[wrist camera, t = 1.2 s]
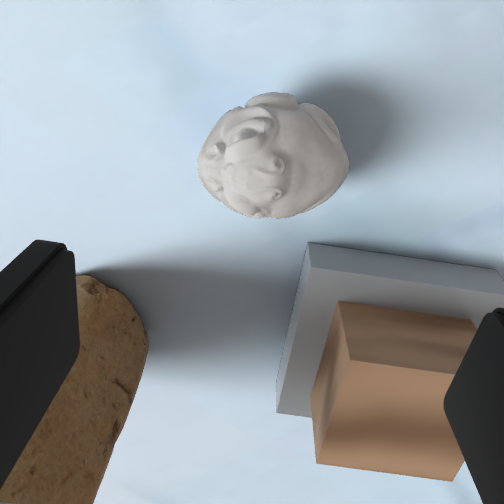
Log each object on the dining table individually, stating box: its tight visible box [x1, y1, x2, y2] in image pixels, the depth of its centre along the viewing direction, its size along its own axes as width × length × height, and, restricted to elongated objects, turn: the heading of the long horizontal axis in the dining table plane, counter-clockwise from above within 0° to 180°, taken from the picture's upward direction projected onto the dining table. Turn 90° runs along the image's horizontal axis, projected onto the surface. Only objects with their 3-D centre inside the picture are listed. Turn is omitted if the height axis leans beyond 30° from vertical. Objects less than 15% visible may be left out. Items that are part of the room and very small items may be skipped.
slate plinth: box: [276, 243, 504, 418], centre depth 29 cm, size 12×12×3 cm
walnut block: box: [310, 301, 477, 482], centre depth 25 cm, size 8×8×5 cm
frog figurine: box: [198, 92, 349, 219], centre depth 21 cm, size 6×7×7 cm
